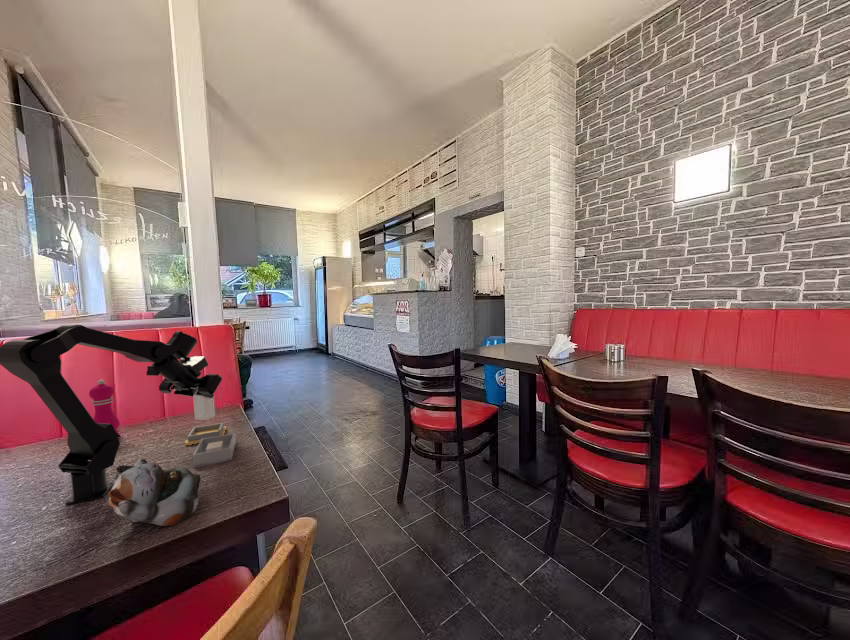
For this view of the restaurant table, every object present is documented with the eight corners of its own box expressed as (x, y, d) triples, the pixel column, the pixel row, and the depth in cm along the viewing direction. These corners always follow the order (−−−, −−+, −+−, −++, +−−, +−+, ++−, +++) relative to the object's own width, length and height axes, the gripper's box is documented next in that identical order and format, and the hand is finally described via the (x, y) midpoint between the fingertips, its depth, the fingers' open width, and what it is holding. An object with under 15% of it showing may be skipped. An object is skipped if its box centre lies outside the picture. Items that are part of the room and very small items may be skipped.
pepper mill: (117, 432, 117) (112, 376, 116) (123, 437, 113) (118, 378, 112) (88, 440, 112) (83, 380, 110) (93, 445, 107) (87, 383, 106)
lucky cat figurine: (195, 523, 68) (148, 480, 61) (131, 558, 65) (76, 517, 59) (208, 469, 80) (171, 429, 74) (156, 497, 78) (112, 458, 71)
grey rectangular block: (205, 420, 108) (202, 379, 108) (194, 419, 109) (191, 379, 108) (215, 415, 112) (212, 377, 112) (204, 415, 113) (202, 376, 112)
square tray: (222, 439, 109) (221, 431, 109) (185, 445, 105) (184, 437, 105) (226, 429, 118) (225, 421, 118) (192, 434, 114) (191, 426, 114)
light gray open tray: (231, 460, 94) (230, 447, 94) (193, 467, 91) (192, 454, 90) (236, 443, 105) (235, 432, 105) (202, 450, 101) (201, 438, 101)
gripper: (215, 349, 104) (243, 376, 115) (164, 349, 107) (196, 375, 119) (195, 380, 97) (226, 406, 108) (141, 379, 100) (178, 404, 112)
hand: (207, 396), depth 112 cm, fingers closed on grey rectangular block, 4 cm apart
